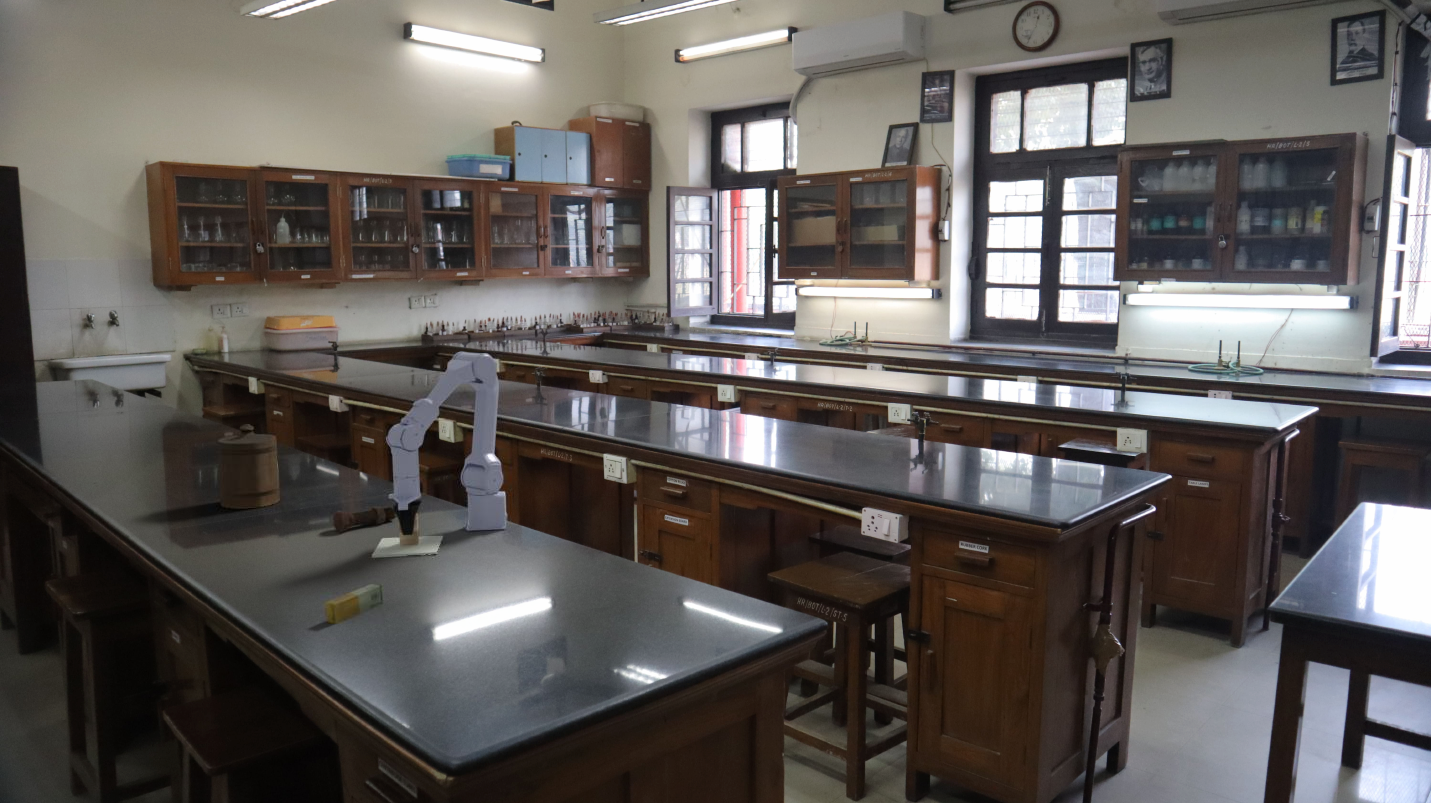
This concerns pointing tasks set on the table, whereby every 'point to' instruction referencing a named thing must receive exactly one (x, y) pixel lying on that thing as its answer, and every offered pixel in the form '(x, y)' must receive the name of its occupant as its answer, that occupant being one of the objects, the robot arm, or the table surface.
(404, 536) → the slab
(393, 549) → the board
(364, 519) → the bolt
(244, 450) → the wooden container
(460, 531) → the table surface
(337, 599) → the medication box
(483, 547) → the table surface
